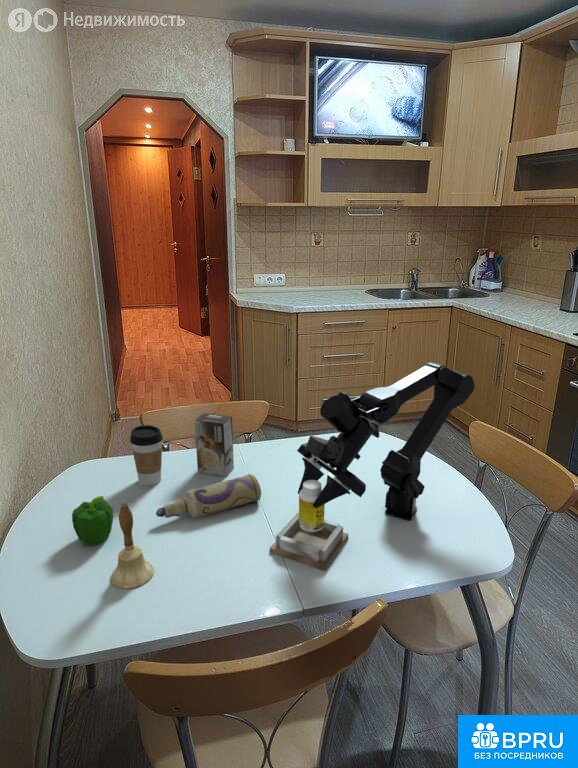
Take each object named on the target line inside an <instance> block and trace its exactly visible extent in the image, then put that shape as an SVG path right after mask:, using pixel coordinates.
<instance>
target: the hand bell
mask: <svg viewBox="0 0 578 768" xmlns="http://www.w3.org/2000/svg"><path fill="white" fill-rule="evenodd" d="M119 509H120V510H119V512H118V523H119V526H120V529H121V531H122V535H123V545H124V547H123V548H122V549H121V550H120V551H118V556H117V557H118V558H117V566H116V567H115V569H114V570H113V571H112V573H111V575H110V582H111V584H112V585H113V586H115V587H116V588H118V589H124V590H129V589H135V588H138V587H141V586H143V585H145V584H146V583H148V582H149V581H150V580H151V579H152V577H153V576H154V573H155V570H154V566H153V565H152V563H150V562H149V561H147V560H146V559H145V557H144V555H143V551H142V549H141V547H140V546H137V545H135V544H134V540H133V527H134V516H133V513H132V511H131V509H130V507H129V504H128V503H127V502H125V503H122V504H121V505H120V507H119Z"/></svg>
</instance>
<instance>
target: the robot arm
mask: <svg viewBox="0 0 578 768" xmlns="http://www.w3.org/2000/svg"><path fill="white" fill-rule="evenodd" d="M475 386H476V384H475V381H474V378H473V377H472V376H471V375H470V374H466V373H463V372H460V371H457V370H454V369H450V368H448V367H446V366H445V365H443V364H440V363H437V362H435V361H434V362H433V361H430V362H427V363H425V364H424V365H423V366H422V367H421V368H419V369H417V370H416V371H414V372H412V373H410V374H409V375H407V376H405V377H403V378H401V379H400V380H398V381H396V382H395V383H393V384H391V385H389V386H382V387H376V388H372V389H369V390H367V391H365V392H364V393H362V394H361V395H360V396H358V397H355V398H353V399H351V397H350V396H349V395H348V394H347V393H345V392H343V391H339V392H338V394H337V395H333V396H330V397H329V398H328V399H326V400H324V402H323V403H322V404H321V406H320V411H319V413H320V416H321V417H322V418H323V419H324V420H325V421H326V422H327V423H328V424H330V426H332V427H333V428H334V429H335V430H336V431H337V432H339V434H338V435H337V436H335V435H332V436H330V438H329V439H325V438H322V437H317V436H314V435H309V438H308V441H306V442H305V443H302V444H300V446H299V448H298V449H297V450H296V451H297V453H299V454H300V455H302V458H301V459H302V461H303V465H304V470H303V473H302V474H303V475H302V478H301V481H300V484H299V488H298V490H297V494H298V495H299V492H300V491H301V490H302V489H303V483H304V482H305V481H307V480H316V481H319V480H320V479H321V478H322V477H323V476H324V475H325V473H324V472H323V471H321V469H322V468H323V469H325V470H326V471H327V472H328V473H330V474H332V475H333V476H334V477H332V476H330V475H328V474H327V476H326V483H325V485H324V487H323V488H322V491H321V493H320V494H319V496H318V497H317V499H316V500H315V502H314V504H313V507H314V508H318V507H320V506H322V505H324V504H325V505H326V504H328V503H329V502H331V501H332V500H335V499H337V498H340V497H342V496H344V495H346V494H348V495H350V494H351V493H354V494H355V495H356V496H358V497H359V498H362V497H363V495H364V494H365V493H366V489H367V483H365V482H363V480H361V479H360V478H359V477H358V476H357V475H356V474H354V473H353V472H352V471H350V470H349V469H348V468H349V466H350V465H352V462H353V461H354V460H355V459H356V460H357V461H358V460H360V459H361V457H362V456H361V455H360V454H359V453H360V451H361V450H362V449H363V447H364V446H365V445H366V443H367V442H368V440H370V437H372V436H373V437H375V438H376V439H379V438H380V431H379V424H385V423H388V421H390V420H391V419H392V418H394V417H395V416H396V415H397V414H398V413H399V412H400V411H399V410H400V409H401V406H402V405H403V404H405V403H407V402H408V401H410V400H412V399H414V398H415V397H416V396H418V395H420V394H422V393H423V392H425V391H427V390H428V389H431V388H432V387H433V398H432V401H431V402H430V404H429V405H428V407H427V409H426V410H425V412H424V414H423V415H422V417H421V418H420V420H418V421H419V422H418V423H417V425H416V426H415V428H414V430H413V431H412V432H411V434H410V436H409V437H408V439H407V440H406V442H405V444H404V445H403V446H402V448H400V449H398V450H396V451H395V450H394V449H391V450H389V452H388V454H387V456H386V457H385V458H384V460H383V461H382V462H381V463H382V465H381V468H380V470H379V471H380V477H381V479H382V481H383V484H384V485H386V486H387V487H389V488H388V490H386V493H385V503H384V504H385V505H384V507H385V508H386V509H385V511H384V514H385V515H389V516H391V517H395V518H400V519H402V520H407V521H411V520H412V519H413V517H414V515H415V514H416V512H417V509H418V507H417V504H416V503H417V502H416V501H417V499H418V498H419V497H420V495H423V494H424V490H425V485H424V484H423V483H422V482H421V481H420V480H419V477H420V475H421V465H422V464H421V463H422V462H421V460H422V458H423V457H424V455H425V454H426V452H427V451H428V448H429V447H430V445H431V444H432V442H433V441H434V439H435V437H436V435H438V433H439V431H440V430H441V428H442V427H443V426H444V425H443V424H444V423H445V422H446V420H447V418H448V417H449V416H450V413H451V412H452V411H453V410H455V409H456V408H458V407H459V406H462V405H463V404H464V403H465V402H466V401H467V400H468V399H469V398H470V396H471V395H472V394H473V392H474V390H475V388H476V387H475ZM369 420H370V421H375V422H376V423H379V424H376V423H375V422H370V421H369Z"/></svg>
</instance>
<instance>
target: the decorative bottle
mask: <svg viewBox="0 0 578 768" xmlns="http://www.w3.org/2000/svg"><path fill="white" fill-rule="evenodd" d="M261 497H262V489H261V485H260V483H259V481H258V479H257V477H256V476H255V475H254V474H251V473H250V474H247V475H243V476H239V477H238V476H237V477H235V478H231V479H226V480H223V481H219V482H217V483H210V484H207V485H204V486H200V487H196V488H193V489H190V490H187V491H186V493H185V496H184V497H183V498H179V499H177V500H175V501H173V502H172V503H169V504H165V505H163V507H160V508H157V509H156V512H155V516H157V517H159V518H163V517H164V518H172V517H180V516H184V515H186V514H187V515H188V514H189V515H190V516H191V517H192V518H194V519H196V518H197V519H198V518H200V517H205V516H207V515H211V514H214V513H218V512H221V511H223V510H224V511H225V510H228V509H231V508H236V507H238V506H242V505H243V506H244V505H246V504H249V503H252V502H257V501H260V500H261Z"/></svg>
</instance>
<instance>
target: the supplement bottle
mask: <svg viewBox="0 0 578 768" xmlns="http://www.w3.org/2000/svg"><path fill="white" fill-rule="evenodd" d="M322 490H323V488H322V482H321V481H319V480H318V481H316V480H307V481H305V482H304V483H303V489H302V490H301V491H300V492H299V494H298V513H299V526H300V528H301V529H303V530H304V531H307V532H316V531H319V530H321V529H322V528H323V526H324V519H325V507H326V506H325V505H326V504H324V505H322V506H320V507H318V508H314V507H313V504H314V502H315V500H316V499H317V497H318V496H319V494H320V493H321V491H322Z"/></svg>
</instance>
